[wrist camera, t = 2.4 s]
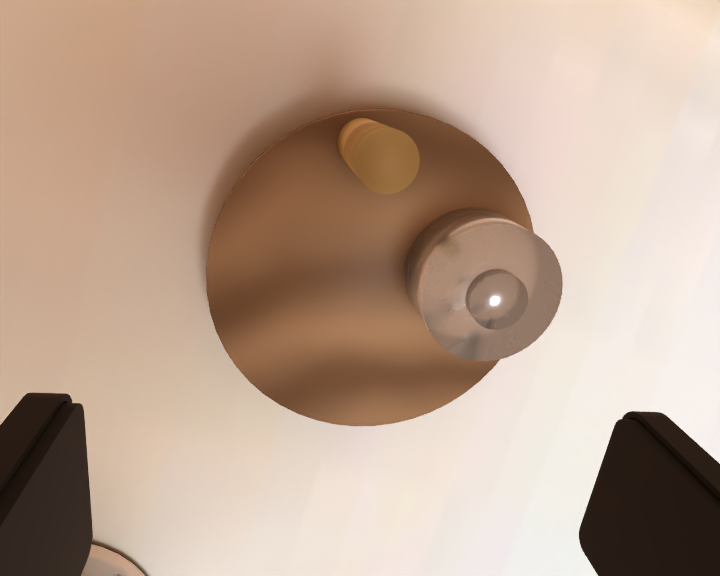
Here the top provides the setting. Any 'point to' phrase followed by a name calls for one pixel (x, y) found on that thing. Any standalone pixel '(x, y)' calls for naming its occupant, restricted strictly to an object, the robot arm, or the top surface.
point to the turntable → (347, 264)
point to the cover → (482, 283)
